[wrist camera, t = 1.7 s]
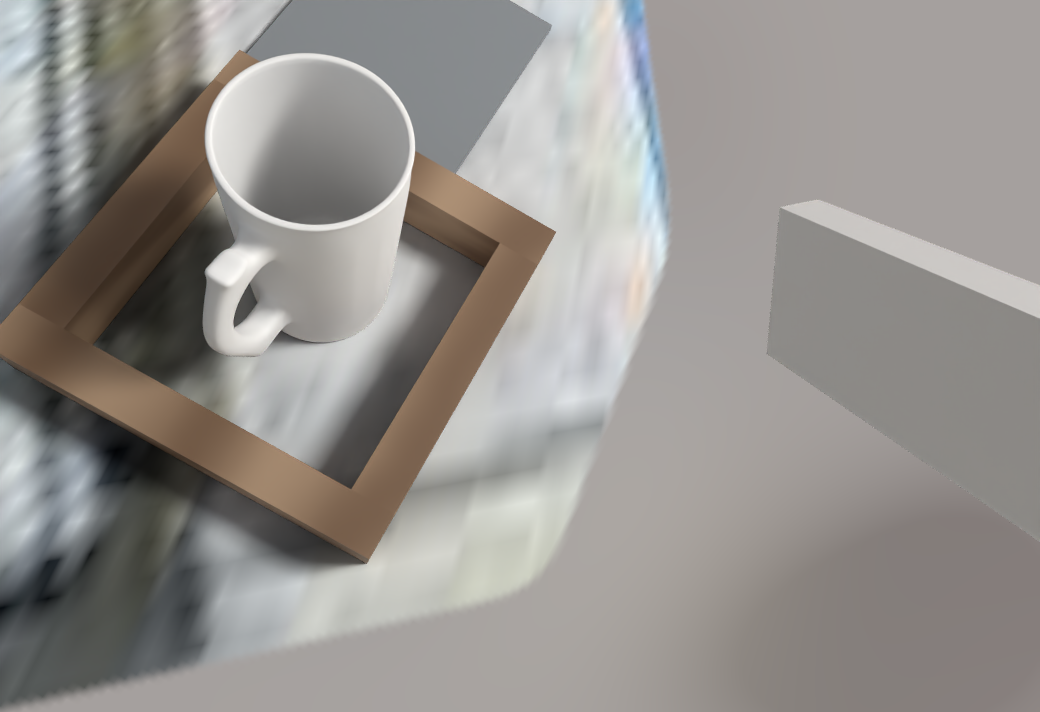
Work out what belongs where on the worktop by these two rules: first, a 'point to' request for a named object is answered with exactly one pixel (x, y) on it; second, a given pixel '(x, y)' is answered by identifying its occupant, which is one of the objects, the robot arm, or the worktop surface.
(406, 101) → the rubber mat
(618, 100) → the worktop surface
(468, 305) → the walnut collar
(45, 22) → the worktop surface
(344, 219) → the mug
